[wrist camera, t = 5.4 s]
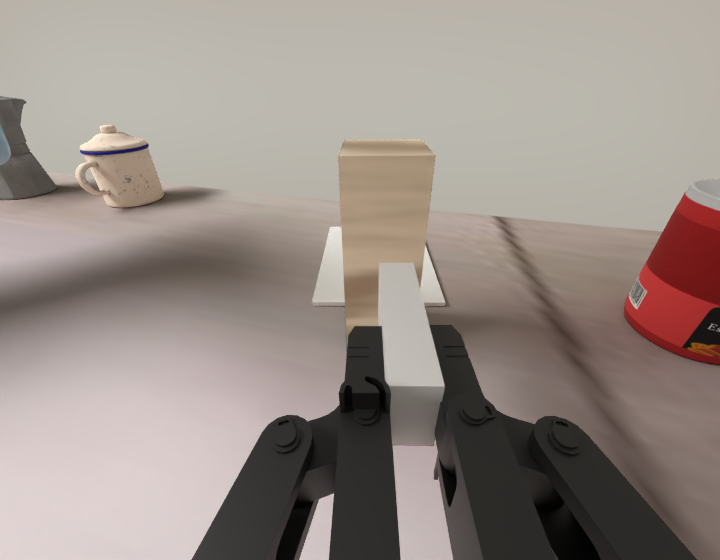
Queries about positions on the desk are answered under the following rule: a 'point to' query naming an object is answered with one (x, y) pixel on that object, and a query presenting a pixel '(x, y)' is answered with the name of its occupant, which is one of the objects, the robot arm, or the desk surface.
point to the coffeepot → (19, 158)
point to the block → (381, 216)
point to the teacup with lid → (120, 169)
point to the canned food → (683, 280)
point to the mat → (332, 276)
